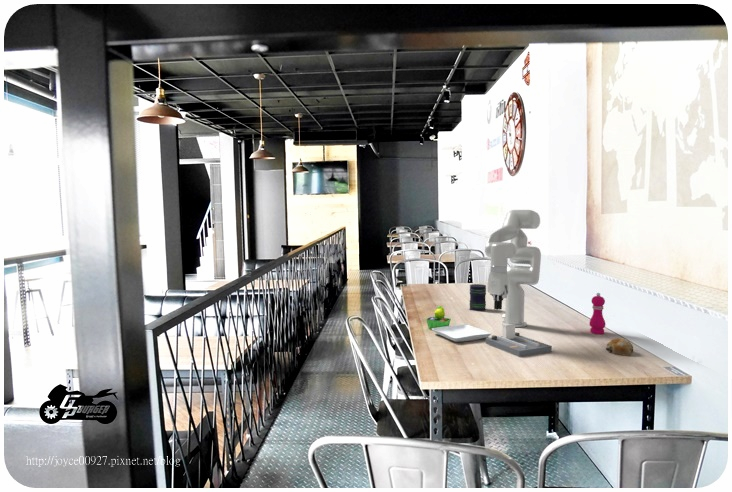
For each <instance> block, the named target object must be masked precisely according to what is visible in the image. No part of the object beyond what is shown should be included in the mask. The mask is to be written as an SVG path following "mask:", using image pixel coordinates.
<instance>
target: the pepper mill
mask: <svg viewBox="0 0 732 492" xmlns="http://www.w3.org/2000/svg"><path fill="white" fill-rule="evenodd" d="M605 303H606V299H605V298H604V297H603V296H601V293H599V292H596V294H595V296H592V298H591V304H592V310H593V311H592V312H593V313H592V316H591V318H590V320H589V324H588V325H589V326H590V329H589V332H590V333H591V334H594V335H595V334H596V335H604V334H605V329H604V328H605V327H606V320H605V319H604V315H603V310H604V305H605Z"/></svg>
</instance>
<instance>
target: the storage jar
mask: <svg viewBox="0 0 732 492" xmlns="http://www.w3.org/2000/svg"><path fill="white" fill-rule="evenodd" d="M486 295H487V286H486V285H485V284H480V283H479V284H476V283H475V284H470V285H469V296H470V297H469V310H470V311H472V312H473V311H474V312H485V311H486V309H487V308H486V306H487V300H486Z"/></svg>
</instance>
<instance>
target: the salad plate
mask: <svg viewBox="0 0 732 492" xmlns="http://www.w3.org/2000/svg"><path fill="white" fill-rule="evenodd" d="M431 330H432V332H434V334H436V335H439V336H441V337H444V338H445V339H448V340H451V341H453V342H456V343H461V342H469V341H477V340H482V339H486V338H489V337H490V336H492V332H489V331H487V330H484V329H482V328H478V327H475V326H472V325H468V324H457V325H456V324H455V325H449V326H446V327H438V328H432V329H431Z"/></svg>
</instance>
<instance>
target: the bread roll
mask: <svg viewBox="0 0 732 492" xmlns="http://www.w3.org/2000/svg"><path fill="white" fill-rule="evenodd" d="M605 350H606V351H608V353H611V354H613V355H618V356H633V355H634V345H633V343H632V342H631V341H629V340H627V339H626V338H622V337H617V338H616V337H615V338H613V339H611V340H610V341H609V342H608V343H606V347H605Z"/></svg>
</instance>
